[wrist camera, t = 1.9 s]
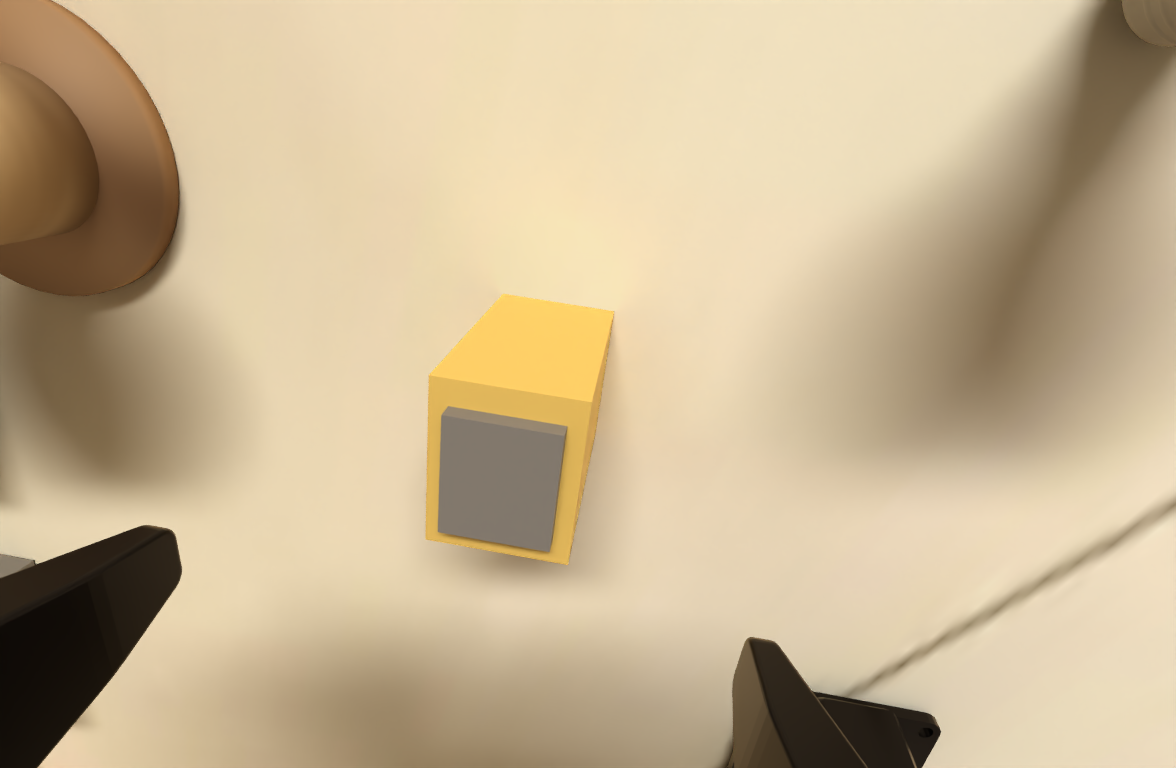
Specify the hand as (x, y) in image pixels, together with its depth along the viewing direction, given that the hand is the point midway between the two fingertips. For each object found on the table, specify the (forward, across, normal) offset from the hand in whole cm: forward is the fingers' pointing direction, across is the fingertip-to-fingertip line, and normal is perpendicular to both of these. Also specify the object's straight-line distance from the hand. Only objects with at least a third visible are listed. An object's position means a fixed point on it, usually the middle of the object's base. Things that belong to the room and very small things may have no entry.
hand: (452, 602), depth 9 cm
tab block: (+10, 0, 0) cm, 10 cm away
